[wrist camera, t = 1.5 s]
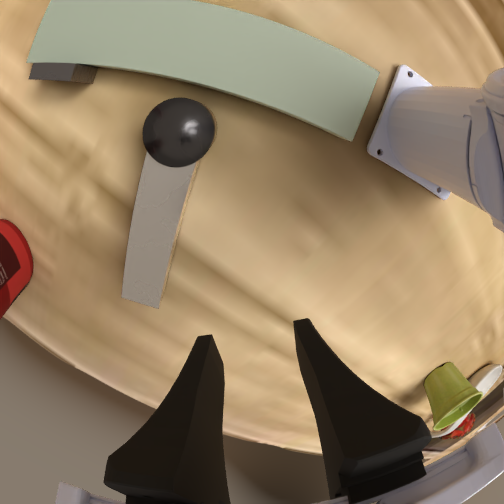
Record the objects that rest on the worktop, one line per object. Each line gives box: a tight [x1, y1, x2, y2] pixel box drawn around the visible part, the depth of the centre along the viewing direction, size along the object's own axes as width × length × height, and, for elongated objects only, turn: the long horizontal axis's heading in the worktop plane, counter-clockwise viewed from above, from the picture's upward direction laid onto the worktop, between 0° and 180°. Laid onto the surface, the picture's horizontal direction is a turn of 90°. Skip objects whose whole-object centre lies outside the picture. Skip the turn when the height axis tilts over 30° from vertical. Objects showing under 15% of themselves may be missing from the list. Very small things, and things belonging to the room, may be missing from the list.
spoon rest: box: [429, 364, 502, 438], centre depth 38 cm, size 24×12×7 cm, turn 148°
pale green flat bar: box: [26, 0, 380, 142], centre depth 13 cm, size 24×5×2 cm, turn 70°
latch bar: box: [122, 98, 217, 309], centre depth 17 cm, size 14×4×3 cm, turn 160°
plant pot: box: [424, 362, 483, 430], centre depth 30 cm, size 9×9×9 cm
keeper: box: [29, 63, 98, 84], centre depth 12 cm, size 4×1×3 cm, turn 70°
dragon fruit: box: [439, 411, 476, 440], centre depth 46 cm, size 8×8×12 cm
